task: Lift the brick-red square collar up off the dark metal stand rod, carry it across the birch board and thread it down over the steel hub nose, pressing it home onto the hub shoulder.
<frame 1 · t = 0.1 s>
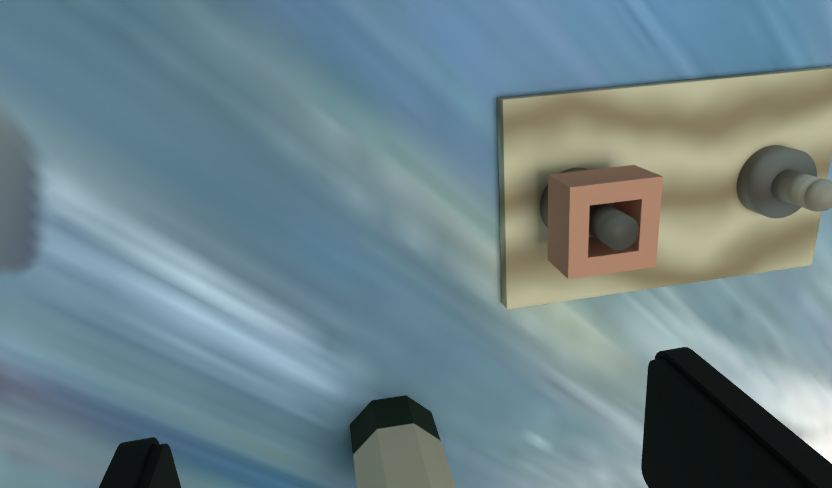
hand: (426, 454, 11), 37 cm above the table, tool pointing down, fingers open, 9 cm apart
wine bottle: (391, 431, 55), on the table
collar: (590, 213, 46), point 4 cm above the table, touching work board
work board: (663, 186, 52), on the table
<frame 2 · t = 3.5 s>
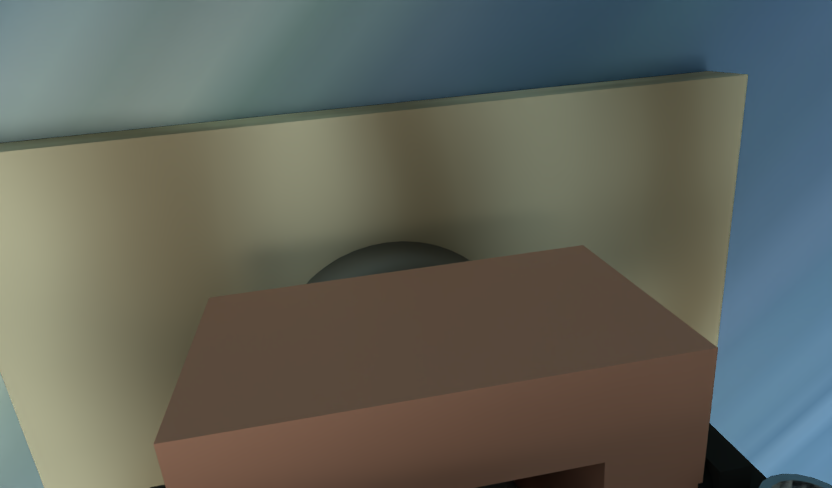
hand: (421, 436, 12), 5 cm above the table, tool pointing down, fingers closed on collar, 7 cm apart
collar: (418, 426, 12), point 4 cm above the table, touching gripper, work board
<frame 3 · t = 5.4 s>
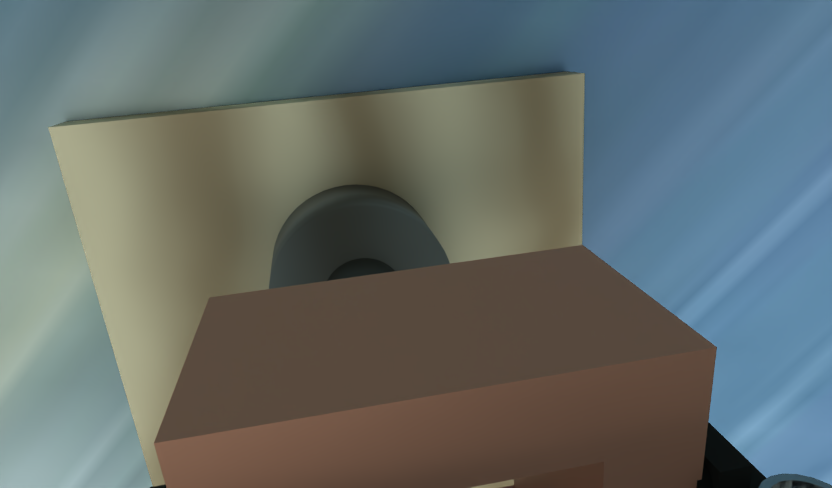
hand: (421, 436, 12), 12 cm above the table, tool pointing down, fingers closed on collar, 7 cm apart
collar: (418, 426, 12), point 12 cm above the table, touching gripper
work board: (375, 438, 26), on the table
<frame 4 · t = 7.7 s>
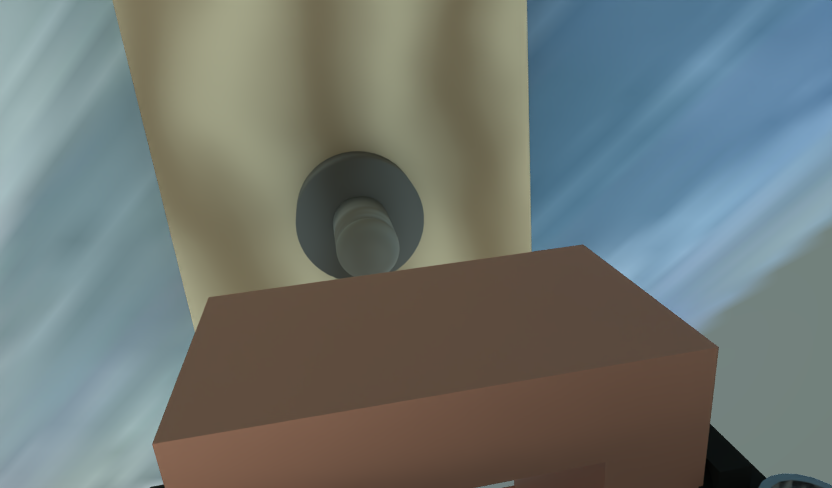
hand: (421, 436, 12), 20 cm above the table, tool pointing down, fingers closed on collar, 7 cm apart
collar: (418, 426, 12), point 20 cm above the table, touching gripper
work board: (332, 19, 27), on the table
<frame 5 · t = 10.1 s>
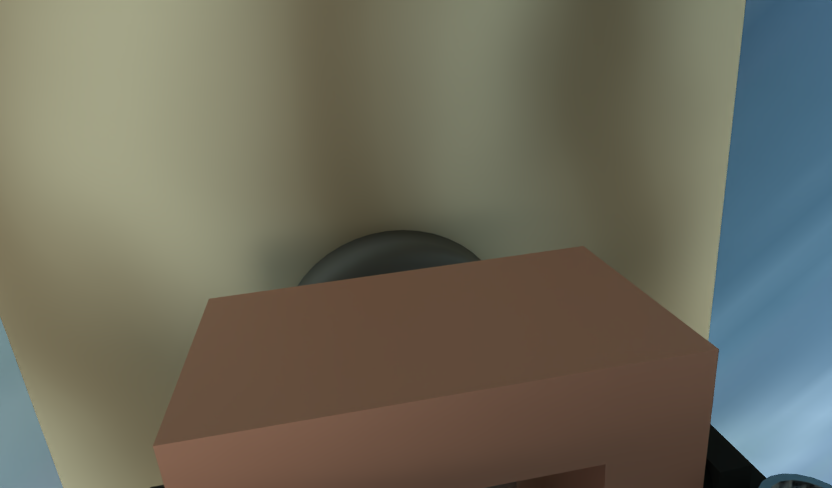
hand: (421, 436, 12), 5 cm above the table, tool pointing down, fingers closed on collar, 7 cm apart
collar: (418, 427, 12), point 5 cm above the table, touching gripper
when the fingers open (4 cm above the table, at t = 12.0 s): collar stays where it is, resting on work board.
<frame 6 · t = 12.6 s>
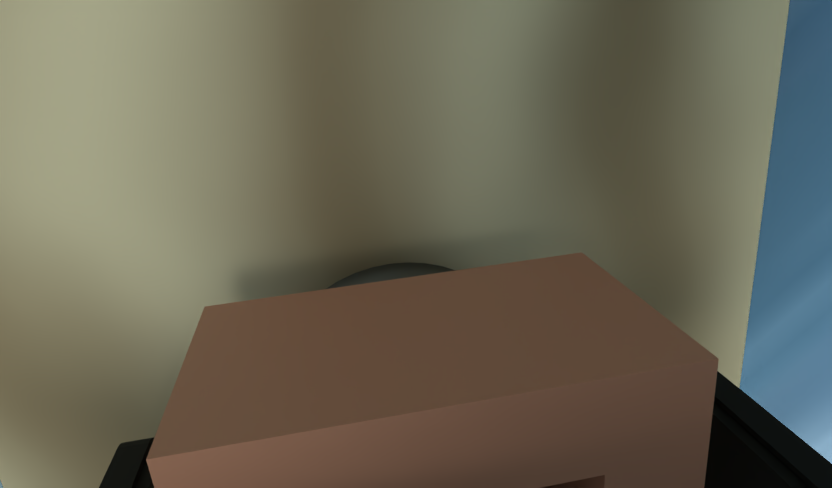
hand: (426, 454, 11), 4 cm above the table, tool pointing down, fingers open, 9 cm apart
collar: (416, 435, 12), point 3 cm above the table, touching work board
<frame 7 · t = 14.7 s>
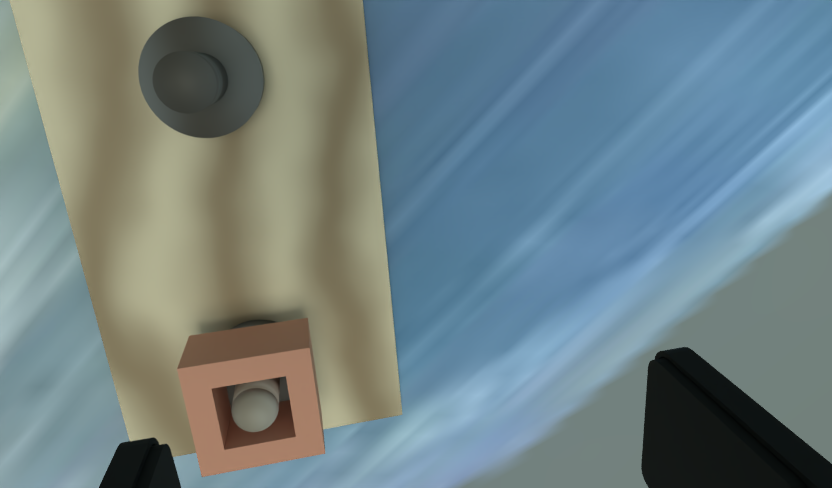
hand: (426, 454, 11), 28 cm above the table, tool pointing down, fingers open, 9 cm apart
collar: (258, 377, 36), point 3 cm above the table, touching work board
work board: (238, 224, 37), on the table
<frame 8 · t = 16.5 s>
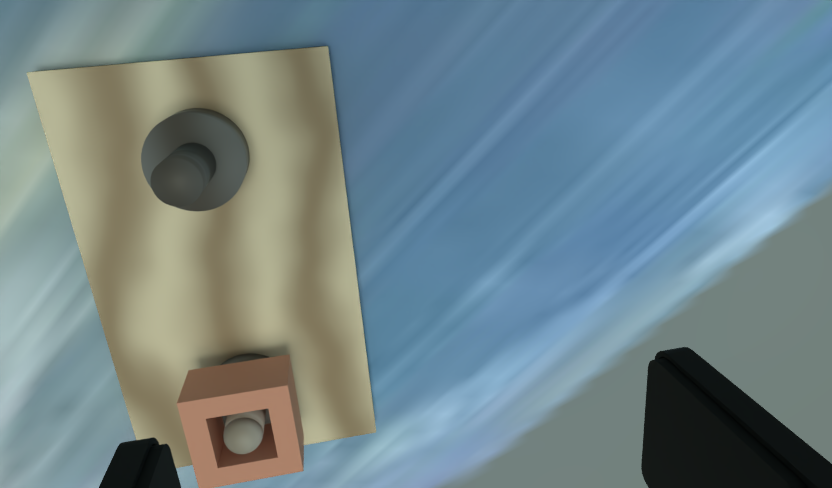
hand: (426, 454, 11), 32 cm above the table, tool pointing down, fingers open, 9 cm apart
collar: (248, 403, 43), point 3 cm above the table, touching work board
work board: (231, 272, 43), on the table
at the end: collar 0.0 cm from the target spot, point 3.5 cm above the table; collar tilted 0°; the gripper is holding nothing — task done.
